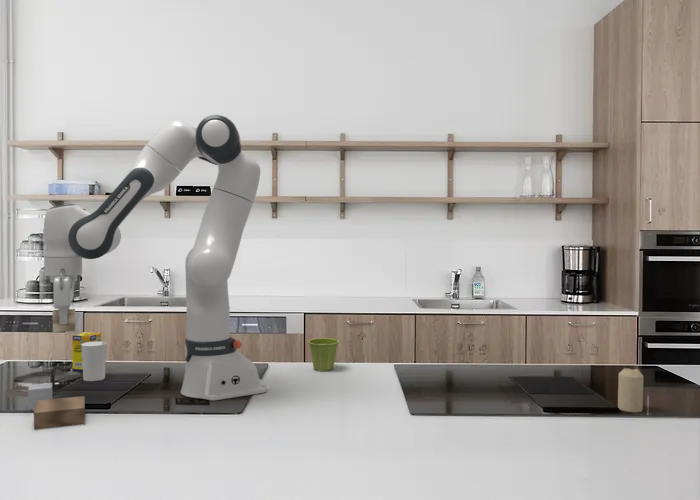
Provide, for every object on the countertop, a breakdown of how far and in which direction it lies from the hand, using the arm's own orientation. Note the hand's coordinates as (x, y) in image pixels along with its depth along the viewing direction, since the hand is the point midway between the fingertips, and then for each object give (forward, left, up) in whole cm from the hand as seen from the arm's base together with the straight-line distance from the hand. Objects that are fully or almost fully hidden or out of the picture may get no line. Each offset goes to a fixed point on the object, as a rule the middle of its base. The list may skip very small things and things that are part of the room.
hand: (64, 321), depth 160 cm
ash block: (0, 0, -2) cm, 2 cm away
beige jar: (-128, +62, -19) cm, 143 cm away
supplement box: (-5, -27, -19) cm, 34 cm away
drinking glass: (-7, -15, -19) cm, 26 cm away
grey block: (+5, +9, -19) cm, 22 cm away
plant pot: (-72, -3, -19) cm, 74 cm away
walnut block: (0, +22, -19) cm, 29 cm away
